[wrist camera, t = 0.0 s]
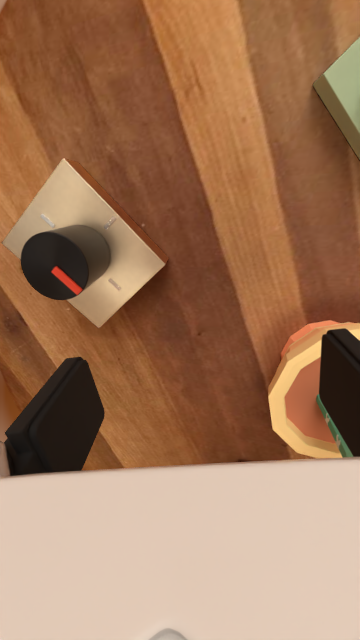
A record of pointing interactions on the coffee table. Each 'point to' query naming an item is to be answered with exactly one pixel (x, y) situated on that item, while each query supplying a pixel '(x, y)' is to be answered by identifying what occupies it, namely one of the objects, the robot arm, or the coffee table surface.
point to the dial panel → (108, 220)
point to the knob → (64, 260)
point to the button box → (344, 93)
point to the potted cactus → (305, 395)
